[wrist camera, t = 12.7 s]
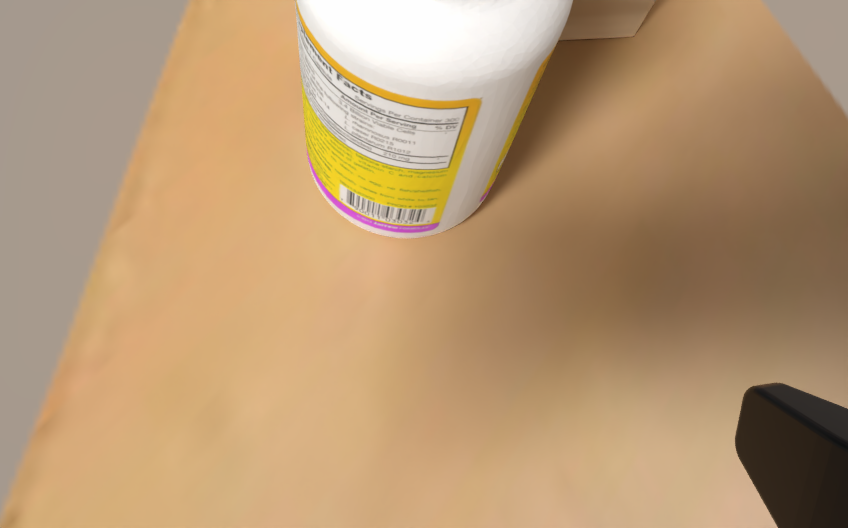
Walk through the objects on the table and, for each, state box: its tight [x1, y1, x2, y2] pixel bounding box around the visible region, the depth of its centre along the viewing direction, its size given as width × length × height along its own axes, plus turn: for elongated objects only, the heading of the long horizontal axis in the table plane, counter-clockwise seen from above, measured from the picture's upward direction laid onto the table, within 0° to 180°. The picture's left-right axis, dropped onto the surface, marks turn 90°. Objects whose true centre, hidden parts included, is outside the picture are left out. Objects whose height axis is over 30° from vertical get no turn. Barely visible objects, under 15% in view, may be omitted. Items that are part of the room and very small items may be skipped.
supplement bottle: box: [295, 0, 573, 238], centre depth 19 cm, size 7×7×13 cm
